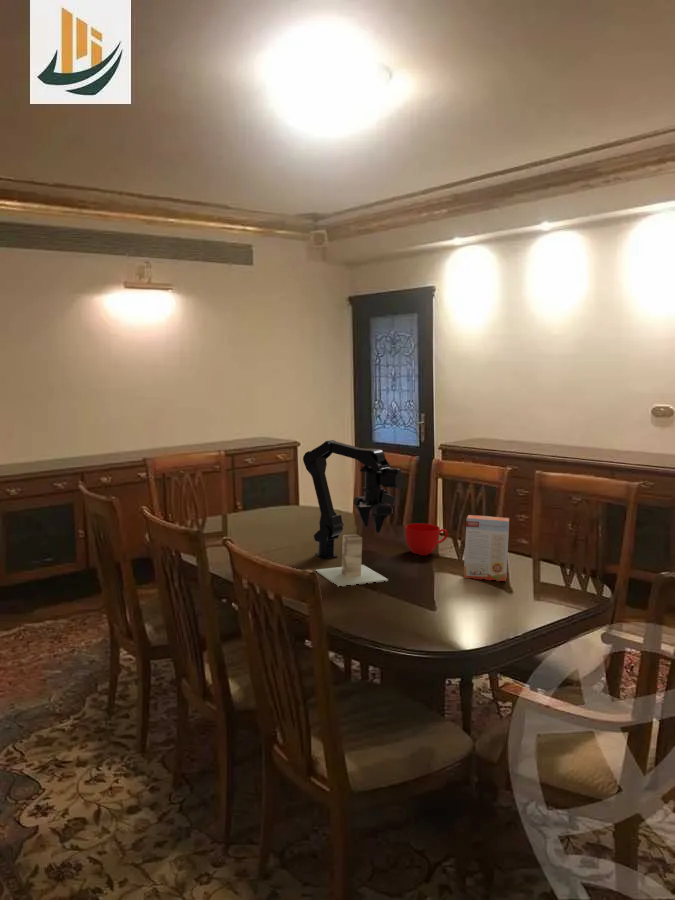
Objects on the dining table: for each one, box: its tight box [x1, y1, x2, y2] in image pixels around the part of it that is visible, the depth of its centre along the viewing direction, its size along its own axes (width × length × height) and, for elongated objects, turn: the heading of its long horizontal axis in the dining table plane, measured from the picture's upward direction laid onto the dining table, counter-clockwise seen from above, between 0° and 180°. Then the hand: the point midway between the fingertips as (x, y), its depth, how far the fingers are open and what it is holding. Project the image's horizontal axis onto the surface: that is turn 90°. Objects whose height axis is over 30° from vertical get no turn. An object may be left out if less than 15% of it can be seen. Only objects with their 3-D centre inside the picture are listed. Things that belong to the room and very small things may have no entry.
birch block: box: [341, 533, 363, 577], centre depth 242 cm, size 5×5×13 cm
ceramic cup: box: [404, 522, 449, 556], centre depth 275 cm, size 13×17×10 cm
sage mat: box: [315, 564, 389, 588], centre depth 243 cm, size 18×18×1 cm
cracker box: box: [463, 514, 510, 582], centre depth 245 cm, size 14×6×21 cm, turn 74°
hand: (371, 529), depth 255 cm, fingers open, 9 cm apart
